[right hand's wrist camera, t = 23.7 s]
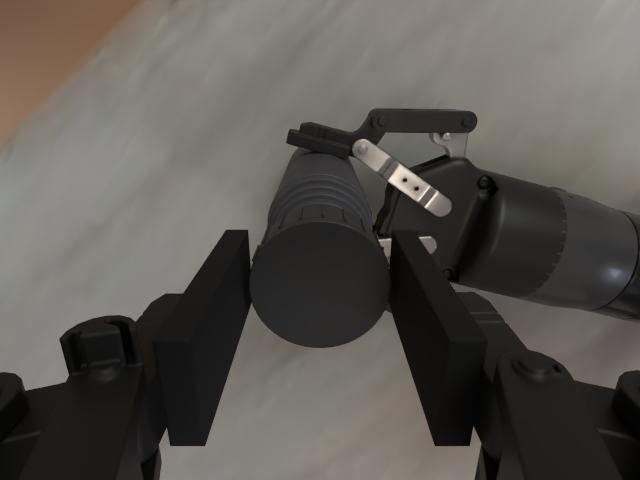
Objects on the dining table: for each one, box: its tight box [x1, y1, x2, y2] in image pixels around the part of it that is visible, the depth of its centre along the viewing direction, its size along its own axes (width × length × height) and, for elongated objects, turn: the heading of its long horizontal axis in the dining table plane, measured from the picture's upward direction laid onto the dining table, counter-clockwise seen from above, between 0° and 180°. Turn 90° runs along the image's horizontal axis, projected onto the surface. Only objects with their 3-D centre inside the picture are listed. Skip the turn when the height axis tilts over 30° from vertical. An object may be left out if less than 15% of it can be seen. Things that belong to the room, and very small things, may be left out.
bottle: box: [268, 147, 372, 230], centre depth 22 cm, size 5×5×19 cm
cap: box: [249, 204, 391, 348], centre depth 13 cm, size 5×5×2 cm
